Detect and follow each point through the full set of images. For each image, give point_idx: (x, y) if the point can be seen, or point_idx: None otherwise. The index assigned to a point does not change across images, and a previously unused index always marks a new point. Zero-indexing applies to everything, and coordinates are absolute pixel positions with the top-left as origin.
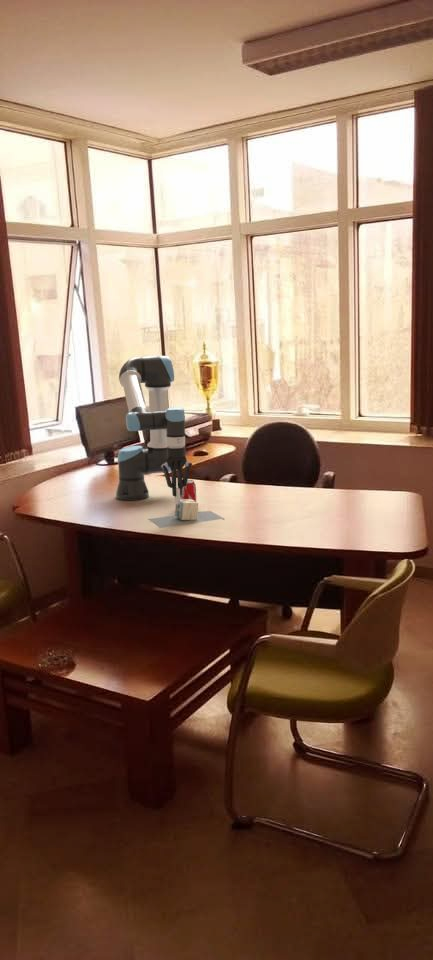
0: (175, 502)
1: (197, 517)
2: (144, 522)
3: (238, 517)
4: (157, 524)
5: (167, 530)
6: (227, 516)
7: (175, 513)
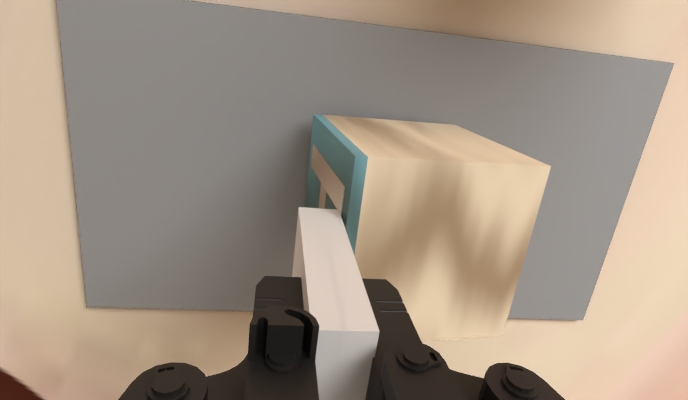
0: (296, 239)
1: None
2: (2, 58)
3: (668, 321)
4: (95, 215)
5: (128, 364)
6: (643, 267)
7: (317, 128)
